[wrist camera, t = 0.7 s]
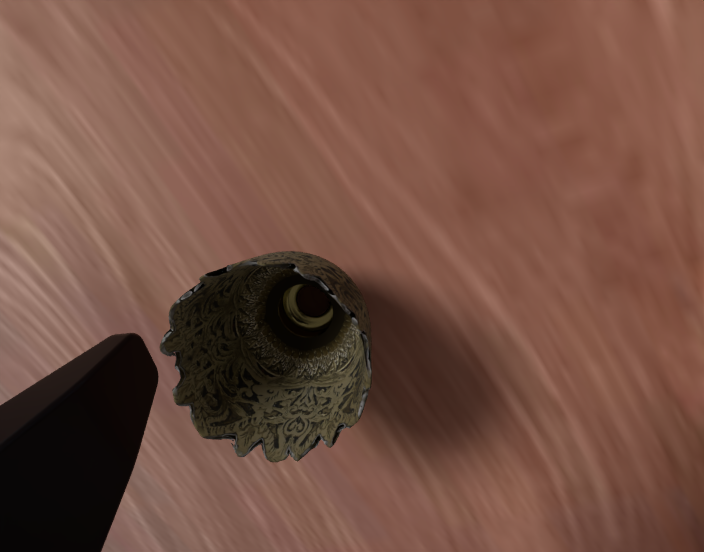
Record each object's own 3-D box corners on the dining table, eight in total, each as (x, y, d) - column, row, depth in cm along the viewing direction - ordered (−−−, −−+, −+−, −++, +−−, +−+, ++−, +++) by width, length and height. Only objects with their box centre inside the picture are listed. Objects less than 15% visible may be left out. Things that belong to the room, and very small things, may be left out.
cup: (396, 367, 26) (381, 464, 18) (254, 374, 27) (183, 467, 19) (380, 216, 24) (354, 253, 16) (229, 232, 25) (140, 273, 18)
